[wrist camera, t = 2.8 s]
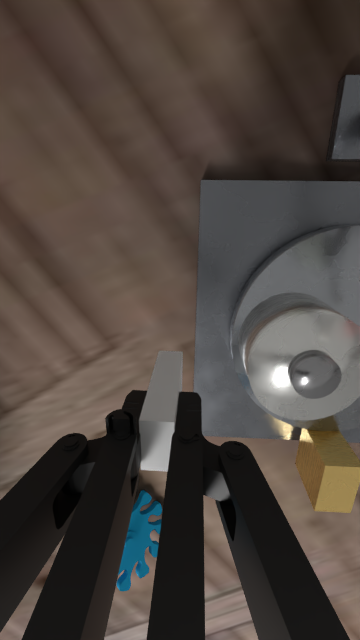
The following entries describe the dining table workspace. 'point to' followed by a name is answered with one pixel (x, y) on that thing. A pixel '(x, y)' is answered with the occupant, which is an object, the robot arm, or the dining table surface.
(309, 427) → the turntable
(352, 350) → the cover
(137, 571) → the blue virus model
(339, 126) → the dial gauge
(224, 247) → the turntable base
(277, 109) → the dining table surface
